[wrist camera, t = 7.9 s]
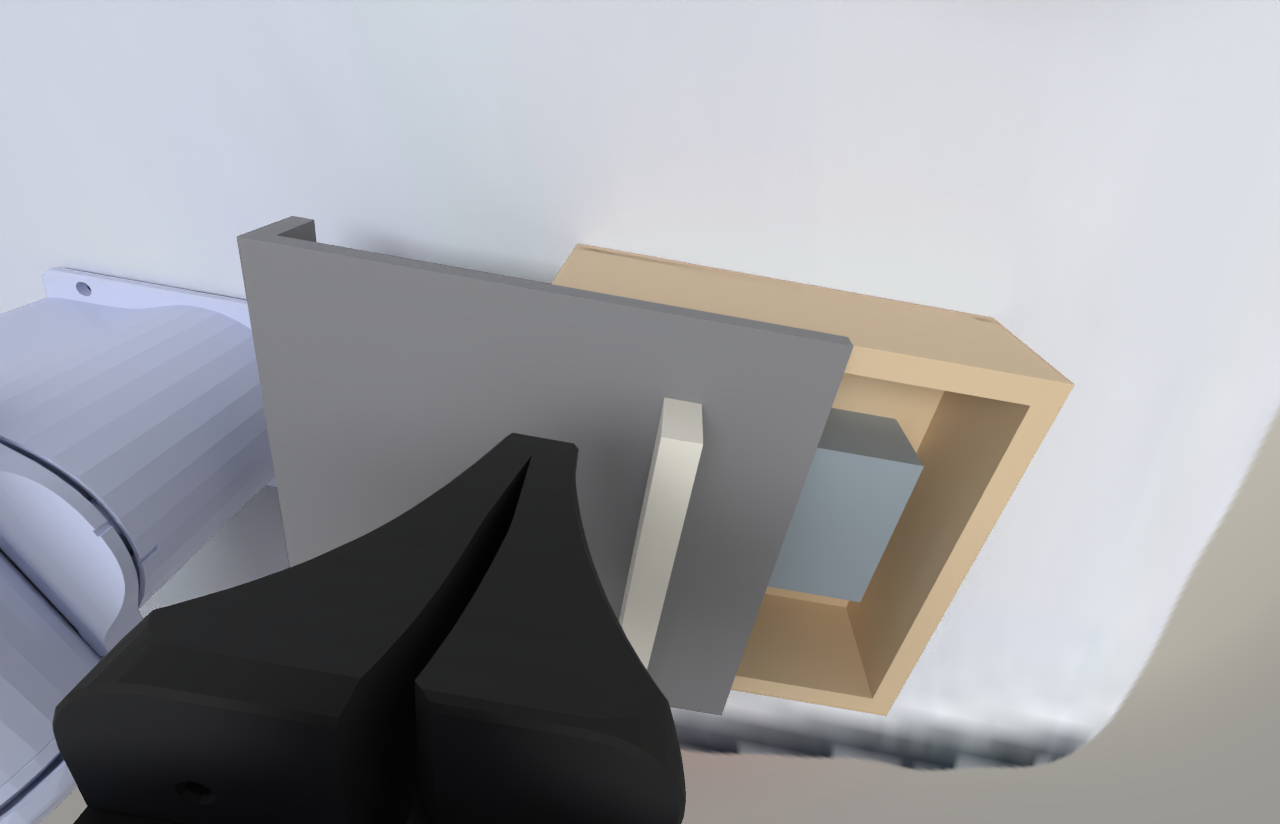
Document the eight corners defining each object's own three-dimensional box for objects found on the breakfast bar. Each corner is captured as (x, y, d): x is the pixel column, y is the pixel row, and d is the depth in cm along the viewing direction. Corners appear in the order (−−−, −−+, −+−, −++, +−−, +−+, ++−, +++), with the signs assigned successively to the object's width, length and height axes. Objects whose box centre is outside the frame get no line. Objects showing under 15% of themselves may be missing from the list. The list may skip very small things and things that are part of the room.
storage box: (542, 559, 27) (514, 653, 23) (577, 243, 20) (546, 290, 16) (855, 613, 27) (886, 715, 23) (992, 317, 21) (1074, 384, 16)
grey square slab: (335, 595, 24) (268, 694, 20) (292, 216, 17) (176, 258, 13) (718, 659, 24) (724, 770, 21) (833, 312, 17) (874, 382, 13)
